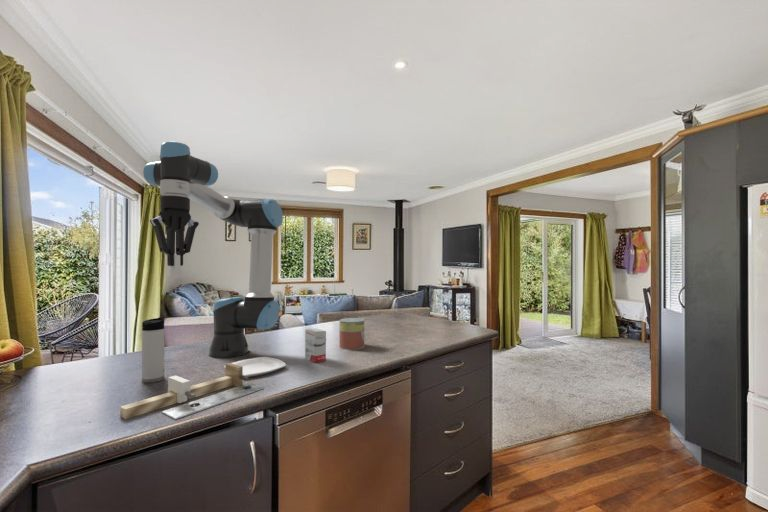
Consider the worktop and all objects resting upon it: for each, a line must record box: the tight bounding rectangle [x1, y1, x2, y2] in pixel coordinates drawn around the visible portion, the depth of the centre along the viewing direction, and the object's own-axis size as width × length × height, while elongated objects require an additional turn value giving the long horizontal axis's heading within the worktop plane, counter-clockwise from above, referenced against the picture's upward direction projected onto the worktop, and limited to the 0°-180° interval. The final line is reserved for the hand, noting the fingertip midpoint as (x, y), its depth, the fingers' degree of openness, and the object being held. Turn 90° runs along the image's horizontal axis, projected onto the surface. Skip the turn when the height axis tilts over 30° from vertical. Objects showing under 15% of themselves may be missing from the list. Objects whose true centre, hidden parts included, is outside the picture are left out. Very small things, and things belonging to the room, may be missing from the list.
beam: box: [119, 362, 249, 420], centre depth 103 cm, size 32×10×6 cm, turn 145°
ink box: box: [304, 327, 327, 364], centre depth 143 cm, size 8×5×12 cm, turn 39°
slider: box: [167, 374, 196, 404], centre depth 101 cm, size 2×12×6 cm, turn 55°
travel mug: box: [141, 316, 165, 384], centre depth 120 cm, size 6×7×20 cm
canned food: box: [339, 317, 365, 351], centre depth 164 cm, size 11×11×12 cm
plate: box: [223, 356, 287, 378], centre depth 131 cm, size 19×19×2 cm
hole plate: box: [161, 382, 265, 420], centre depth 103 cm, size 7×26×1 cm, turn 145°
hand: (175, 277), depth 107 cm, fingers closed
